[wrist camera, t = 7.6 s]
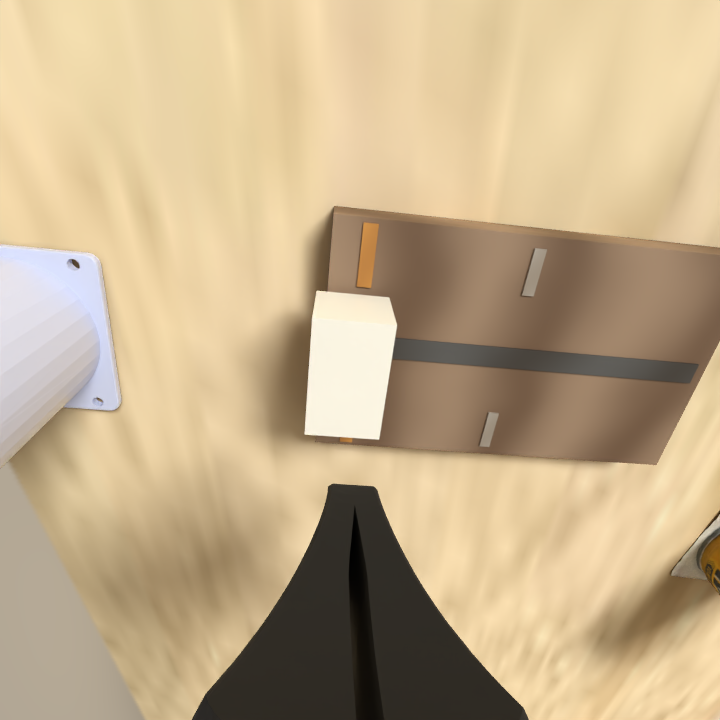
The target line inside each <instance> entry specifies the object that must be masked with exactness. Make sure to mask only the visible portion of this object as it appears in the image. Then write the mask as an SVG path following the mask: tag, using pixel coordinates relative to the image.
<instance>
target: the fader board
mask: <svg viewBox="0 0 720 720" xmlns="http://www.w3.org/2000/svg"><path fill="white" fill-rule="evenodd" d="M327 292H337V293H348V294H359V295H369V296H380V297H389V298H390V301H391V305H392V309H393V312H394V316H395V320H396V323H397V329H396V335H395V342H394V348H393V355H392V361H391V367H390V374H389V380H388V386H387V393H386V399H385V405H384V412H383V418H382V425H381V431H380V437H379V440H377V439H362V438H348V437H333V436H318V435H316V441H315V442H322V443H337V444H352V445H367V446H382V447H397V448H412V449H427V450H442V451H456V452H471V453H486V454H501V455H516V456H531V457H546V458H561V459H575V460H590V461H605V462H620V463H635V464H650V465H656V464H657V463H658V461H659V459H660V457H661V455H662V453H663V451H664V449H665V447H666V445H667V443H668V441H669V439H670V437H671V435H672V433H673V431H674V429H675V427H676V425H677V423H678V422H679V420H680V418H681V416H682V414H683V412H684V410H685V408H686V406H687V404H688V402H689V400H690V398H691V396H692V394H693V392H694V390H695V388H696V386H697V384H698V382H699V381H700V379H701V377H702V375H703V373H704V371H705V369H706V367H707V365H708V363H709V361H710V359H711V357H712V355H713V353H714V351H715V349H716V347H717V345H718V343H719V341H720V248H717V247H707V246H698V245H689V244H680V243H671V242H661V241H652V240H643V239H634V238H624V237H615V236H606V235H597V234H588V233H578V232H569V231H560V230H551V229H541V228H532V227H523V226H514V225H505V224H495V223H486V222H477V221H468V220H458V219H449V218H440V217H431V216H422V215H412V214H403V213H394V212H385V211H375V210H366V209H357V208H348V207H338V206H334V214H333V227H332V240H331V252H330V265H329V277H328V290H327Z"/></svg>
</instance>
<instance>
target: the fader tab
mask: <svg viewBox="0 0 720 720" xmlns="http://www.w3.org/2000/svg"><path fill="white" fill-rule="evenodd" d="M396 329H397V323H396V320H395V316H394V312H393V309H392V305H391V301H390V298H389V297H380V296H369V295H359V294H348V293H337V292H326V291H316V297H315V303H314V309H313V315H312V327H311V343H310V358H309V373H308V389H307V404H306V419H305V435H318V436H333V437H348V438H362V439H377V440H379V437H380V431H381V425H382V418H383V412H384V405H385V399H386V393H387V386H388V380H389V374H390V367H391V361H392V355H393V348H394V342H395V335H396Z"/></svg>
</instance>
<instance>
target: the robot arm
mask: <svg viewBox="0 0 720 720" xmlns="http://www.w3.org/2000/svg"><path fill="white" fill-rule="evenodd" d="M72 259H75V260H76V261H77V262H78V263H79V265H80V268H76V267H75V266H74V265H73V264H72ZM97 398H100V399H102V400H103V402H100V401H98V400H97ZM121 401H122V399H121V393H120V386H119V380H118V373H117V366H116V360H115V353H114V346H113V340H112V333H111V327H110V320H109V313H108V307H107V300H106V293H105V287H104V280H103V274H102V267H101V263H100V260H99V259H98V258H97V257H96V256H95V255H93V254H91V253H87V252H76V251H66V250H56V249H45V248H35V247H24V246H14V245H4V244H0V469H1V468H2V466H4V465H5V464H6V463H7V462H8V461H9V460H10V459H11V458H12V457H13V456H14V455H15V454H16V453H17V452H18V451H19V450H20V449H21V448H22V447H23V446H24V445H25V444H26V443H27V442H28V441H29V440H30V439H31V438H32V437H33V436H34V435H35V434H36V433H37V432H38V431H39V430H40V429H41V428H42V427H43V426H44V425H45V424H46V423H47V422H48V421H49V420H50V419H51V418H52V417H53V416H54V415H55V414H56V413H57V412H58V411H59V410H60V409H61V408H62V407H66V408H80V409H95V410H109V411H111V410H115V409H117V408H118V407H119V405H120V404H121ZM192 720H529V719H528V717H527V715H526V712H525V710H524V708H523V707H522V706H521V705H520V704H519V703H518V702H517V701H516V700H515V699H514V698H513V697H512V696H511V695H510V694H509V693H508V692H507V691H506V690H505V689H504V688H503V687H502V686H501V685H500V684H499V683H498V682H497V680H496V679H495V678H494V677H493V676H492V675H491V674H490V673H489V672H488V671H487V670H486V669H485V667H484V666H483V665H482V664H481V663H480V662H479V661H478V659H477V658H476V657H475V656H474V655H473V654H472V653H471V651H470V650H469V649H468V648H467V646H466V645H465V644H464V643H463V641H462V640H461V639H460V638H459V636H458V635H457V634H456V633H455V631H454V630H453V629H452V628H451V626H450V625H449V624H448V622H447V621H446V620H445V618H444V617H443V616H442V614H441V613H440V611H439V610H438V609H437V607H436V606H435V604H434V603H433V601H432V600H431V598H430V597H429V595H428V594H427V592H426V591H425V589H424V588H423V586H422V584H421V583H420V581H419V580H418V578H417V576H416V575H415V573H414V571H413V569H412V567H411V566H410V564H409V562H408V560H407V559H406V557H405V555H404V553H403V551H402V549H401V547H400V545H399V543H398V541H397V539H396V537H395V535H394V533H393V531H392V528H391V526H390V524H389V521H388V519H387V517H386V514H385V512H384V509H383V507H382V504H381V501H380V498H379V495H378V491H377V489H376V488H375V487H373V486H358V485H343V484H331V485H330V486H328V494H327V498H326V503H325V506H324V509H323V512H322V515H321V518H320V521H319V523H318V526H317V528H316V531H315V533H314V535H313V538H312V540H311V542H310V545H309V547H308V549H307V551H306V553H305V555H304V557H303V559H302V561H301V563H300V565H299V566H298V568H297V570H296V572H295V574H294V576H293V577H292V579H291V581H290V583H289V584H288V586H287V588H286V589H285V591H284V593H283V594H282V596H281V597H280V599H279V600H278V602H277V603H276V605H275V606H274V608H273V610H272V611H271V613H270V614H269V616H268V617H267V618H266V620H265V621H264V623H263V624H262V626H261V627H260V628H259V630H258V631H257V632H256V634H255V635H254V636H253V638H252V639H251V640H250V641H249V643H248V644H247V645H246V647H245V648H244V649H243V651H242V652H241V653H240V655H239V656H238V657H237V658H236V660H235V661H234V662H233V663H232V664H231V666H230V667H229V668H228V669H227V670H226V671H225V672H224V674H223V675H222V676H221V677H220V678H219V679H218V680H217V682H216V683H215V684H214V685H213V686H212V687H211V689H210V690H209V691H208V692H207V693H206V694H205V696H204V698H203V700H202V702H201V703H200V705H199V707H198V709H197V711H196V713H195V715H194V717H193V719H192Z"/></svg>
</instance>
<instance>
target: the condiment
mask: <svg viewBox="0 0 720 720" xmlns="http://www.w3.org/2000/svg"><path fill="white" fill-rule="evenodd" d="M671 576H677V577H678V576H679V577H684V578H685V577H687V578H695V579H702V580H708V581H709V582H710V583H711V584H712V585H713V586H714V588H715V589H716V591H717V592H718V593H719V594H720V515H719V516H718V518H717V519H716V520H715V521H714V522H713V523H712V524H711V526H709V527H708V529H706V530H705V531H704V532H703V533H702V534H701V536H700V537H699V538H698V539H697V541H696V542H695V543H694V545H693V546H692V547H691V548H690V549H689V551H688V552H687V553H686V554H685V555H684V556H683V558H682V560H681V561H680V562H678V564H677V565H676V566H675V568H674V569H673V571H672V573H671Z"/></svg>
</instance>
